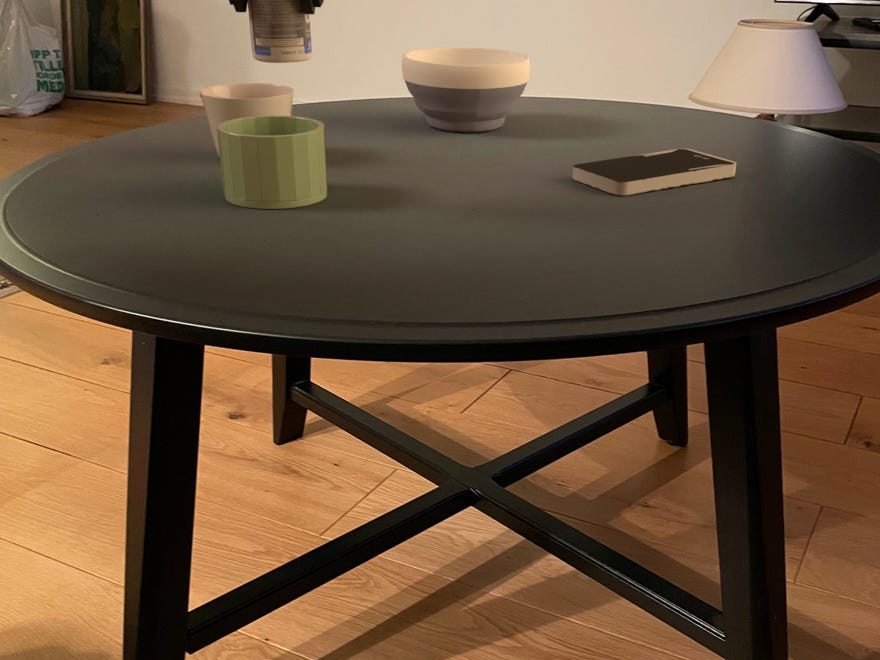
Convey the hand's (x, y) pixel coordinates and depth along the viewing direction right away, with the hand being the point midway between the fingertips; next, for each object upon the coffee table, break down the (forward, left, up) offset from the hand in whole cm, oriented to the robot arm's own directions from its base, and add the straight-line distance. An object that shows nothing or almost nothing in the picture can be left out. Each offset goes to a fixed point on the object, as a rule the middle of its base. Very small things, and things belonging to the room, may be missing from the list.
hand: (273, 5), depth 79 cm
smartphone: (+30, -21, -16) cm, 39 cm away
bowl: (+40, +7, -16) cm, 43 cm away
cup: (+4, +4, -16) cm, 17 cm away
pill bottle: (+2, +1, -4) cm, 5 cm away
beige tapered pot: (+14, +16, -16) cm, 27 cm away
